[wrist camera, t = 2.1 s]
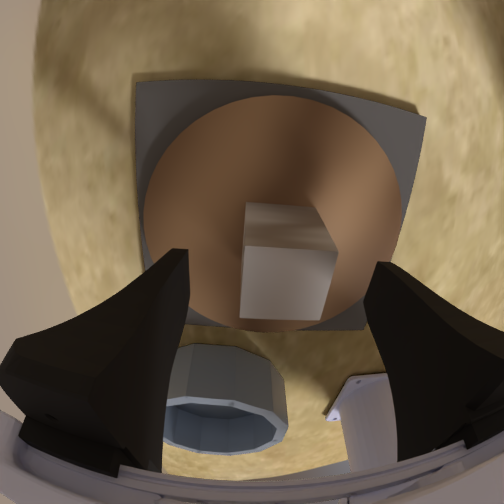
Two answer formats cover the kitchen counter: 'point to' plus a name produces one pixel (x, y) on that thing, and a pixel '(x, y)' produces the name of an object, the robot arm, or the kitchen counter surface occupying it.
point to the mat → (227, 91)
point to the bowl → (224, 401)
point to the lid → (274, 212)
